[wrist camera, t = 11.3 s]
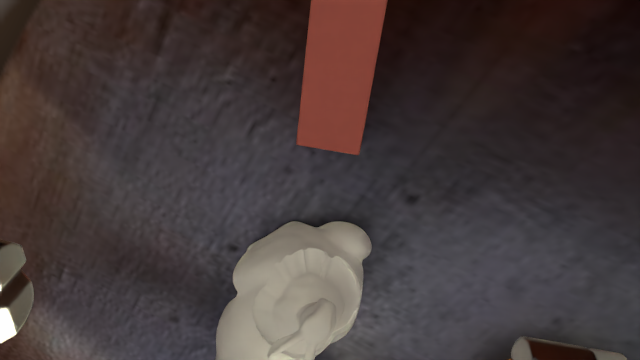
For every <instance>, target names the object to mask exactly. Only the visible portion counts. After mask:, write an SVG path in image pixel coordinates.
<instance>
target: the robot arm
mask: <svg viewBox="0 0 640 360" xmlns="http://www.w3.org/2000/svg"><path fill="white" fill-rule="evenodd" d="M25 262H26V258H25V255H24V252H23V249H22V246H21V245H19V244H16V243H13V242H9V241H5V240H0V343H2V342H4V341H6V340H8V339H10V338H12V337H14V336H16V334H17V333H18V332H19V330H20V329H21V328H22V326H23V325H24V324H25V322H26V321H27V318H28V316H29V313H30V311H31V308H32V306H33V299H34V289H33V285H32V281H31V280H30V279H29V278H28V276H27V275H26V274H25V273H24V272H23V271H22V270H21V269H20V268H21V267H22V266H23V264H24V263H25ZM511 355H512V360H628V359H627V358H626V357H625V356H624V355H623V354H621V353H616V352H610V351H604V350H599V349H593V348H585V347H582V346H577V345H571V344H565V343H559V342H554V341H548V340H542V339H537V338H531V337H525V336H521V337H520V338H519V339H518V340H516V342H515V344H514V346H513V348H512V350H511Z"/></svg>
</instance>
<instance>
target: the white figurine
mask: <svg viewBox="0 0 640 360" xmlns="http://www.w3.org/2000/svg"><path fill="white" fill-rule="evenodd" d="M371 248H372V246H371V242H370V239H369V237H368V235H367V234H366V233H365V231H364V230H362V229H361V228H360V227H358V226H356V225H354V224H351V223H348V222H342V221H336V222H330V223H327V224H325V225H323V226H320V227H312V226H309V225H306V224H304V223H301V222H297V221H293V222H289V223H287V224H285V225H283V226H281V227H280V228H279V229H277V230H276V231H274V232H272V233H270V234H269V235H267V236H266V237H264V238H262V239H260V240H258V241H257V242H255V243H253V244H251V245H250V246H249V247H248V248H247V252H246V253H245V254H244V255H243V256H242V257H241V259H240V260H239V262H238V263H237V265H236V267H235V269H234V272H233V284H234V286H235V288H236V290H237V292H238V293H237V296H236V298H234V299H233V300H232V301H230V302H229V303H228V304H227V306H226V307H225V309H224V311H223V314H222V316H221V318H220V321H219V324H218V327H217V333H216V351H217V355H216V359H215V360H314V359H315V356H317V355H318V354H320V353H321V352H322V351H323V350H325V348H326V347H327V346H328V345H329V344H331V343H334V342H336V341H338V340H340V339H341V338H342V337H344V336H345V335H346V334H347V333H348V331H349V330H350V329H351V328H352V326H353V324H354V323H355V320H356V317H357V314H358V311H359V307H360V302H361V296H362V288H363V267H362V261H363V259H364V258H366V257H367V256H368V255H369V254H370V252H371Z"/></svg>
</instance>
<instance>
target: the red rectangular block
mask: <svg viewBox="0 0 640 360" xmlns="http://www.w3.org/2000/svg"><path fill="white" fill-rule="evenodd" d="M387 1H388V0H311V6H310V15H309V25H308V35H307V44H306V54H305V64H304V73H303V83H302V92H301V102H300V112H299V121H298V131H297V141H296V144H297V145H301V146H307V147H312V148H318V149H324V150H330V151H336V152H342V153H348V154H353V155H359V154H360V149H361V143H362V138H363V132H364V127H365V121H366V116H367V110H368V105H369V99H370V94H371V88H372V83H373V78H374V72H375V67H376V61H377V56H378V50H379V45H380V39H381V34H382V28H383V23H384V17H385V12H386V6H387Z"/></svg>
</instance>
